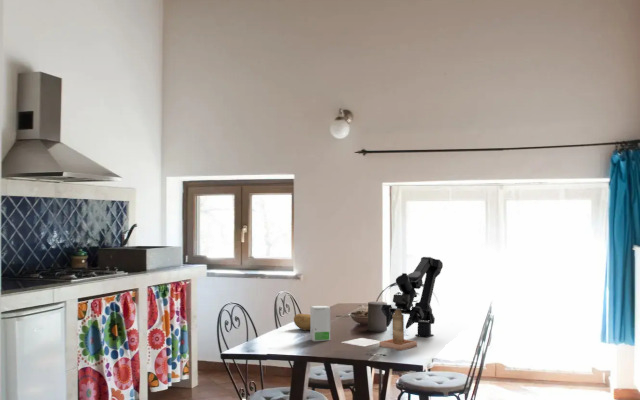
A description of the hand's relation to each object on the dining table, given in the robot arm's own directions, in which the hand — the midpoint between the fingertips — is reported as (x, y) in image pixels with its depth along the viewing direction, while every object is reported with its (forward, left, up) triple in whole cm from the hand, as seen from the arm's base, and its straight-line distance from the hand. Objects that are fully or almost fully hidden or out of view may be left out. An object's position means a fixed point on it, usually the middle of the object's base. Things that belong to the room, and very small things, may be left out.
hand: (396, 327), depth 282 cm
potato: (-4, -60, -9) cm, 61 cm away
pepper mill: (-1, 0, -8) cm, 8 cm away
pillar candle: (-27, -33, -9) cm, 44 cm away
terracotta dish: (-1, 0, -9) cm, 9 cm away
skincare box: (+11, -36, -9) cm, 39 cm away
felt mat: (+3, -17, -9) cm, 20 cm away
